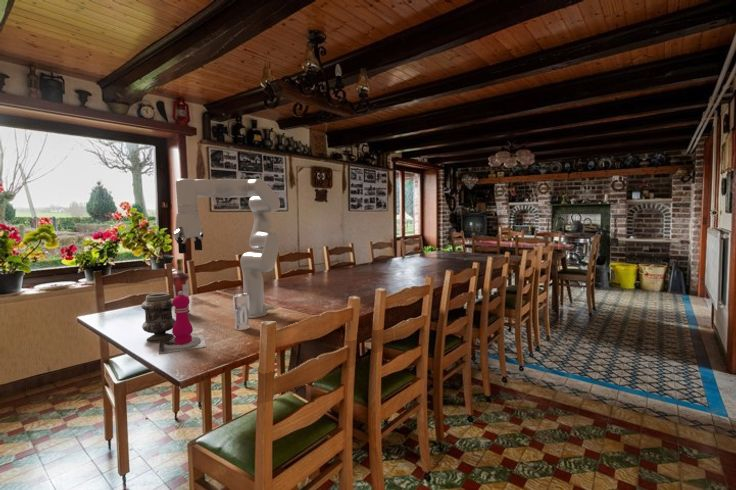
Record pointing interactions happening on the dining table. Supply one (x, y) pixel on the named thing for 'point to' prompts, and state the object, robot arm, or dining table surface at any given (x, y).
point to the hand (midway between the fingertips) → (190, 251)
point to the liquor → (181, 281)
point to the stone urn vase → (158, 316)
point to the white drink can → (241, 310)
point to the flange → (181, 345)
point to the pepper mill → (181, 320)
